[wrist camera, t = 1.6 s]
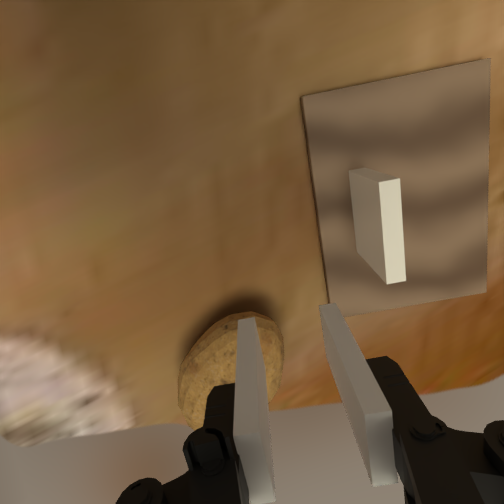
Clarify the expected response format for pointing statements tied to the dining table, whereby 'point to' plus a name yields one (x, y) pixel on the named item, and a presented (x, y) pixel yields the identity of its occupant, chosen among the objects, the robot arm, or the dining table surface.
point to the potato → (225, 363)
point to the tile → (378, 222)
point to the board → (405, 182)
